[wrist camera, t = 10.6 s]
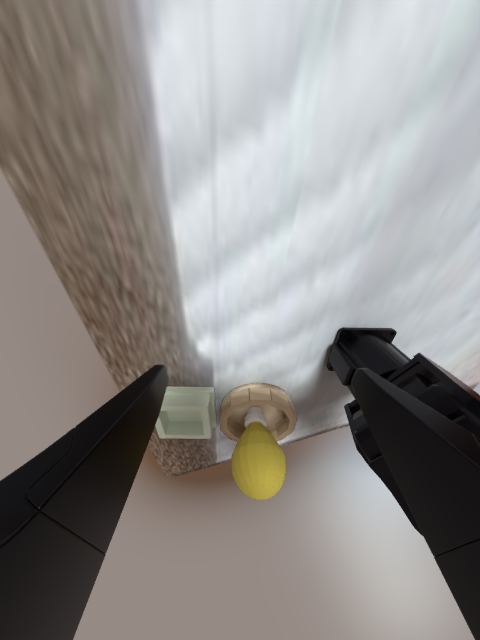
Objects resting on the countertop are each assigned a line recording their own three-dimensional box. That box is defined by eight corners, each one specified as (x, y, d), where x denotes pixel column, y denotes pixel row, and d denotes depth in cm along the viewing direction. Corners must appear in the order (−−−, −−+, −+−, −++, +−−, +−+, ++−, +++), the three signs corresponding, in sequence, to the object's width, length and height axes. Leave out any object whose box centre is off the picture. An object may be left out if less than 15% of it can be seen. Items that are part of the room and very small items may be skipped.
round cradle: (297, 383, 26) (302, 400, 24) (285, 427, 32) (289, 444, 29) (220, 382, 26) (218, 399, 24) (222, 426, 32) (221, 444, 29)
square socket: (213, 387, 27) (211, 404, 24) (216, 423, 31) (214, 440, 29) (152, 386, 27) (143, 403, 24) (163, 422, 31) (157, 439, 29)
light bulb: (282, 417, 29) (300, 504, 20) (244, 428, 31) (245, 512, 22) (266, 392, 26) (280, 481, 17) (225, 405, 28) (218, 492, 19)
